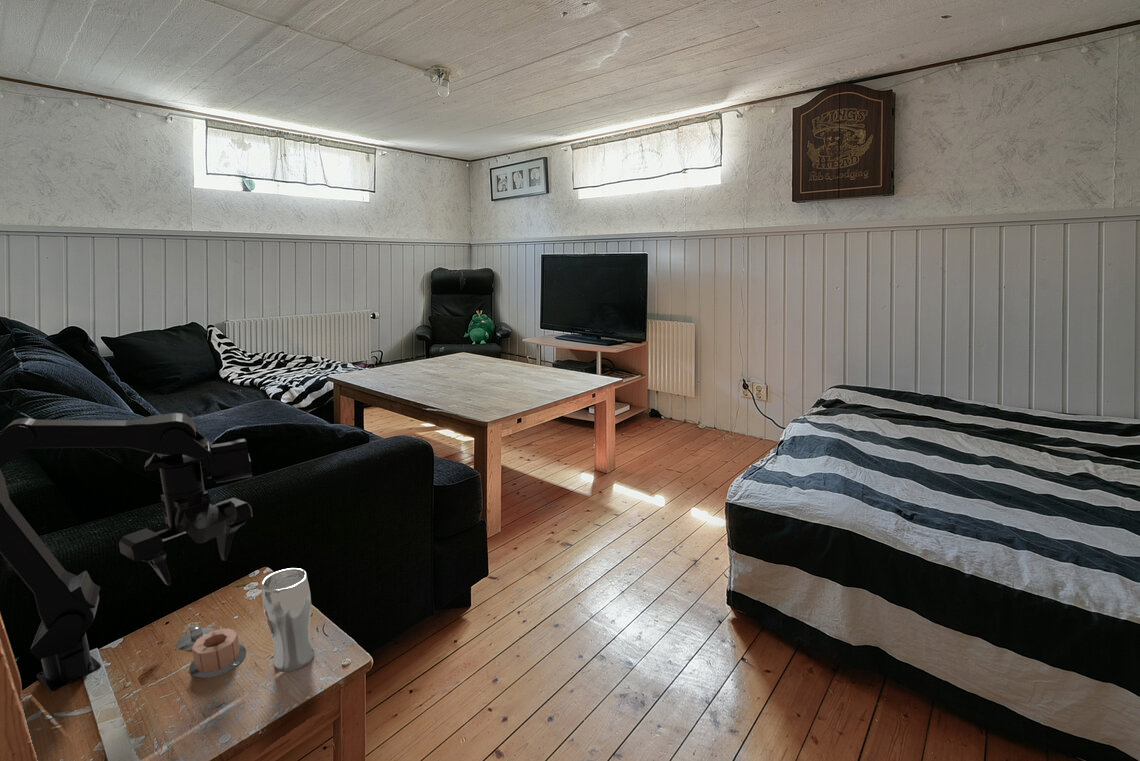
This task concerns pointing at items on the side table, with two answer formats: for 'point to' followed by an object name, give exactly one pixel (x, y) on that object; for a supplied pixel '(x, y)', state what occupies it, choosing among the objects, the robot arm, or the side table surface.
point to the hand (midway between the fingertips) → (197, 571)
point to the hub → (200, 674)
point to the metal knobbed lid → (192, 637)
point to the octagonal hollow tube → (216, 650)
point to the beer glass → (288, 617)
